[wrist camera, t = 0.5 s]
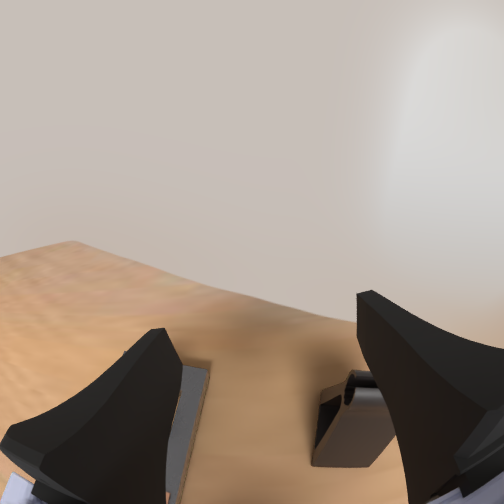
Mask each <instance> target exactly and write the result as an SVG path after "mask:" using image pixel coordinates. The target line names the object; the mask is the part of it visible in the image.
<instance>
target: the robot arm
mask: <svg viewBox="0 0 504 504" xmlns="http://www.w3.org/2000/svg"><path fill="white" fill-rule="evenodd" d="M357 339H358V342H359V345H360V348H361V351H362V353H363V356H364V359H365V361H366V363H367V365H368V367H369V369H370V371H371V373H372V376H373V378H374V380H375V382H376V384H377V386H378V388H379V390H380V392H381V394H382V396H383V398H384V401H385V403H386V405H387V408H388V410H389V413H390V416H391V419H392V423H393V426H394V429H395V433H396V437H397V440H398V444H399V448H400V452H401V457H402V462H403V467H404V472H405V478H406V485H407V492H408V503H409V504H504V349H501V348H496V347H491V346H488V345H484V344H481V343H477V342H474V341H470V340H467V339H464V338H462V337H459V336H456V335H454V334H452V333H449V332H447V331H444V330H442V329H440V328H438V327H436V326H434V325H432V324H430V323H428V322H426V321H424V320H422V319H420V318H418V317H417V316H415V315H413V314H411V313H409V312H408V311H406V310H405V309H403V308H401V307H400V306H398V305H396V304H395V303H393V302H391V301H390V300H388V299H386V298H385V297H383V296H382V295H380V294H378V293H377V292H375V291H373V290H370V291H365V292H361V293H358V294H357ZM182 371H183V364H182V362H181V360H180V359H179V357H178V355H177V353H176V351H175V349H174V346H173V344H172V342H171V340H170V338H169V336H168V334H167V332H166V330H165V328H158V329H151V330H150V331H148V332H147V333H146V334H145V335H144V336H142V337H141V338H140V339H139V340H138V341H137V342H136V343H135V344H134V345H133V346H132V347H131V348H130V349H129V350H128V351H127V352H126V353H125V354H124V355H123V356H122V357H120V358H119V359H118V360H117V361H116V362H115V363H114V364H113V365H112V366H111V367H110V368H109V369H107V370H106V371H105V372H104V373H103V374H102V375H101V376H100V377H98V378H97V379H96V380H95V381H94V382H92V383H91V384H90V385H89V386H87V387H86V388H85V389H83V390H82V391H80V392H79V393H78V394H76V395H75V396H73V397H71V398H70V399H68V400H67V401H65V402H63V403H62V404H60V405H58V406H57V407H55V408H53V409H51V410H49V411H47V412H45V413H43V414H41V415H38V416H36V417H34V418H31V419H28V420H25V421H22V422H20V423H17V424H13V425H11V426H10V427H9V429H8V430H7V432H6V434H5V436H4V437H3V439H2V441H1V443H0V450H1V451H2V452H3V453H4V454H5V455H6V456H7V457H8V458H9V459H10V460H11V461H12V462H13V463H15V464H16V465H17V466H18V467H20V468H21V469H22V470H23V471H25V472H26V473H27V474H29V475H30V476H31V477H33V478H34V479H36V481H35V484H33V483H31V482H30V481H28V480H26V479H25V478H23V477H22V476H20V475H18V474H17V473H15V472H12V474H11V476H10V478H9V481H8V483H7V486H6V488H5V491H4V493H3V496H2V498H1V501H0V504H166V461H167V449H168V441H169V435H170V430H171V426H172V422H173V418H174V414H175V410H176V406H177V402H178V397H179V393H180V389H181V382H182Z"/></svg>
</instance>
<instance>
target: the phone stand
mask: <svg viewBox="0 0 504 504" xmlns="http://www.w3.org/2000/svg"><path fill="white" fill-rule="evenodd" d="M395 435H396V433H395V429H394V426H393V423H392V419H391V416H390V413H389V410H388V408H387V405H386V403H385V401H384V398H383V396H382V394H381V392H380V390H379V388H378V386H377V384H376V382H375V380H374V378H373V376H372V373H371V371H360V370H352V371H351V372H350V373H349V375H348V377H347V379H346V380H345V381H344V382H343V383H341V384H338V385H335V386H332V387H329V388H327V389H324V390H322V391H321V395H320V405H319V414H318V422H317V430H316V438H315V445H314V451H313V458H312V464H311V466H314V467H336V468H361V467H369V466H370V465H371V464H372V463H373V462H374V461H375V459H376V458H377V457H378V456H379V455H380V454H381V453H382V451H383V450H384V449H385V448H386V447H387V445H388V444H389V443H390V442H391V440H392V439H393V438H394V437H395Z"/></svg>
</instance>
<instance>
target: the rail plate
mask: <svg viewBox="0 0 504 504" xmlns="http://www.w3.org/2000/svg"><path fill="white" fill-rule="evenodd" d="M126 352H127V351H124V353H123V355H124V354H125V353H126ZM208 381H209V374H208V370H207V369H201V368H196V367H191V366H185V365H183V371H182V382H181V389H180V393H179V396H181V397H180V400H179V404H178V407H177V411H176V415H175V418H174V422H173V425H172V429H171V433H170V436H169V441H168V449H167V461H166V504H180V501H181V497H182V492H183V488H184V483H185V479H186V475H187V470H188V466H189V462H190V457H191V453H192V449H193V444H194V440H195V436H196V431H197V427H198V423H199V419H200V415H201V410H202V406H203V402H204V398H205V394H206V390H207V385H208Z"/></svg>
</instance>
